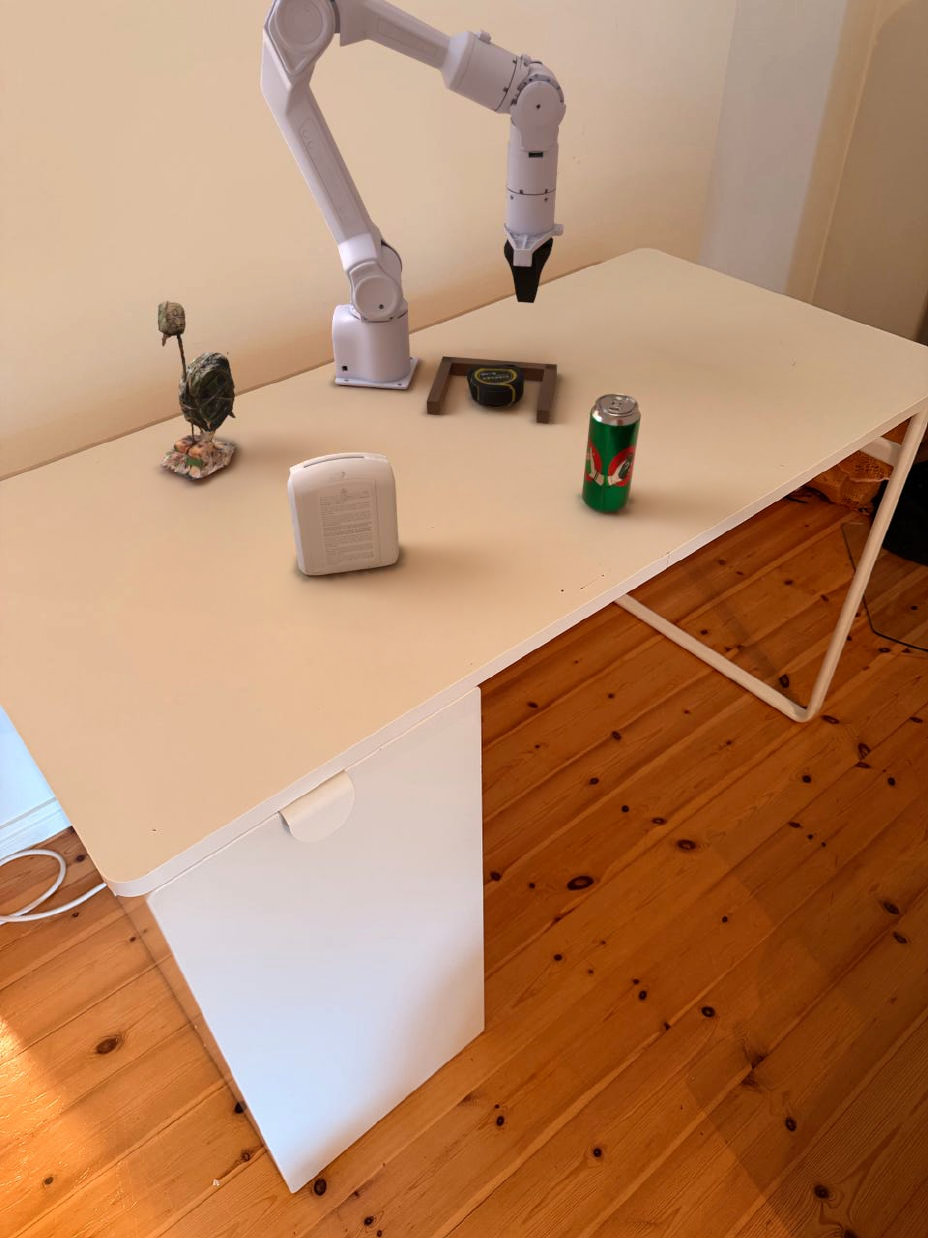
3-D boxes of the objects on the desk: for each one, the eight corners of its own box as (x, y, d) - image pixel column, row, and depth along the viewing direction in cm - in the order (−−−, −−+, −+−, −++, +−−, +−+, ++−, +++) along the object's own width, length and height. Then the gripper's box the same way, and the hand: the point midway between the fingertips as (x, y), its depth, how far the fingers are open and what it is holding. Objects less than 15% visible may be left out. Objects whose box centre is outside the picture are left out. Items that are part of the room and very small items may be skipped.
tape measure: (519, 385, 120) (520, 358, 117) (526, 413, 115) (527, 385, 112) (466, 387, 119) (466, 360, 117) (471, 415, 114) (471, 388, 112)
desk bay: (426, 413, 115) (426, 400, 113) (442, 368, 123) (442, 355, 122) (548, 423, 113) (549, 410, 112) (556, 376, 121) (557, 364, 120)
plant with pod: (267, 448, 109) (239, 281, 96) (188, 491, 103) (145, 319, 89) (224, 424, 113) (190, 260, 99) (145, 463, 107) (98, 295, 93)
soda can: (632, 492, 102) (646, 395, 94) (622, 519, 99) (636, 420, 91) (587, 484, 104) (597, 387, 95) (576, 510, 100) (586, 412, 92)
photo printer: (396, 540, 97) (389, 437, 88) (403, 566, 93) (397, 462, 85) (296, 555, 95) (279, 451, 86) (301, 582, 92) (283, 477, 83)
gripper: (560, 211, 101) (553, 328, 111) (570, 167, 112) (562, 277, 121) (496, 207, 102) (494, 324, 111) (512, 164, 113) (508, 274, 122)
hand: (526, 300), depth 116 cm, fingers closed
